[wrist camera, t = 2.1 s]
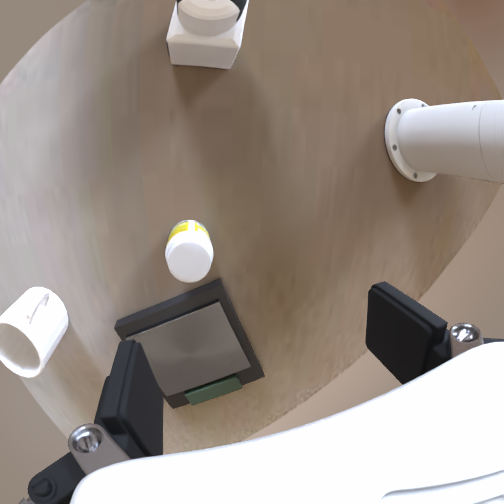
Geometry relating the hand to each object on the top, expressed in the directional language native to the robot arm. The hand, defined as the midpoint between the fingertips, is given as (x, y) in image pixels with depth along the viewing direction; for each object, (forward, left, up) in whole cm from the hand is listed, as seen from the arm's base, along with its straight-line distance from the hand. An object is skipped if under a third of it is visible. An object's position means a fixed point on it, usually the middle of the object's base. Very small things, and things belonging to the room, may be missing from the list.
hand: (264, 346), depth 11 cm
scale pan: (+9, +14, -23) cm, 28 cm away
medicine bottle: (-7, -21, -25) cm, 33 cm away
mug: (+25, +1, -25) cm, 35 cm away
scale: (+9, +15, -25) cm, 30 cm away
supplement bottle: (+3, +1, -25) cm, 25 cm away
